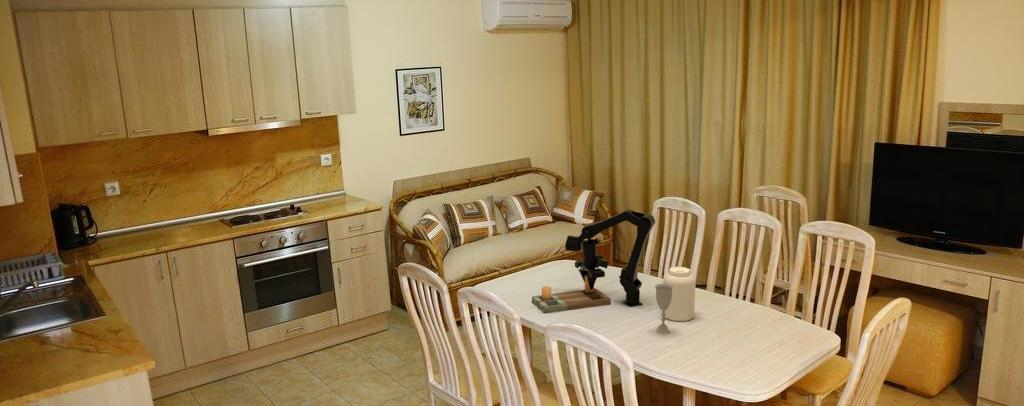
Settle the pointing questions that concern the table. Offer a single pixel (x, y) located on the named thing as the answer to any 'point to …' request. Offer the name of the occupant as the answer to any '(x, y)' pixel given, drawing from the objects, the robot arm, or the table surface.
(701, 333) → the table surface
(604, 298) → the pin board
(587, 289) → the orange pin
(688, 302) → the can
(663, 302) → the chalice
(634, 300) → the robot arm
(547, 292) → the model pin
